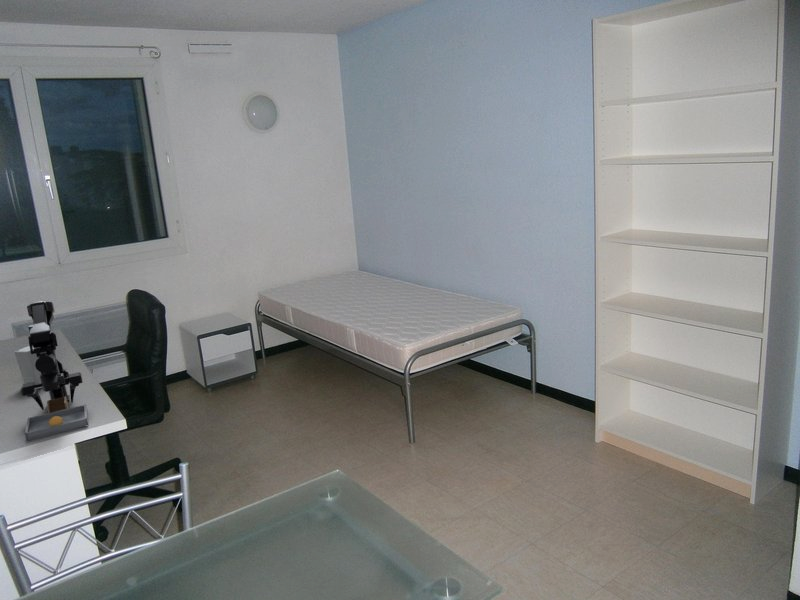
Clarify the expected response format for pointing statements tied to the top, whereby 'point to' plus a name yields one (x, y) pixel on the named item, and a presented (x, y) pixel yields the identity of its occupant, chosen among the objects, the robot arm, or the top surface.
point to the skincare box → (28, 365)
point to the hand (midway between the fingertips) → (57, 406)
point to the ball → (55, 421)
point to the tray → (41, 426)
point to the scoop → (57, 404)
